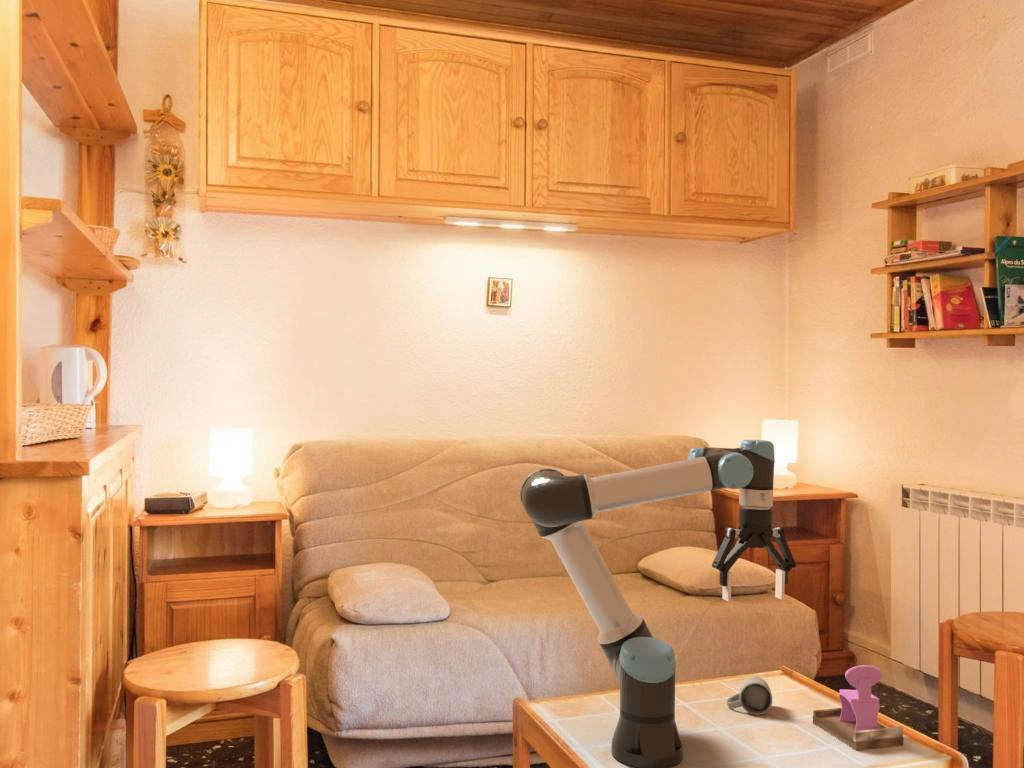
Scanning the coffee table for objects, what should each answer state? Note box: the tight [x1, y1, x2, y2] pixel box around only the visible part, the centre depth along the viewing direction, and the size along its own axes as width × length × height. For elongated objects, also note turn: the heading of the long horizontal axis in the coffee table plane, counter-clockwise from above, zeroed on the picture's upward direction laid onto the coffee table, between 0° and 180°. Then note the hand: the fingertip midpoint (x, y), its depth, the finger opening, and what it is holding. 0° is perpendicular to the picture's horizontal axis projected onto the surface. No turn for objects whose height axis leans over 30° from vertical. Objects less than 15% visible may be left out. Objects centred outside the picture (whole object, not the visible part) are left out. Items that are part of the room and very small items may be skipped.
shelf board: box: [812, 707, 904, 752], centre depth 199 cm, size 12×16×4 cm
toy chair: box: [838, 664, 883, 731], centre depth 198 cm, size 8×9×15 cm
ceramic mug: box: [725, 675, 773, 716], centre depth 214 cm, size 11×8×8 cm
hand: (753, 599), depth 201 cm, fingers open, 13 cm apart
